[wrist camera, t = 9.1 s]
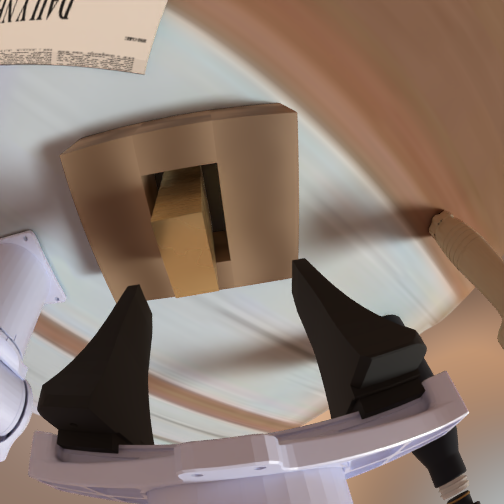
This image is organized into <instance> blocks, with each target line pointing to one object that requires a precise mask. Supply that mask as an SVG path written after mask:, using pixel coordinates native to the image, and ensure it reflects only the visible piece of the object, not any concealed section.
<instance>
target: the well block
mask: <svg viewBox="0 0 504 504" xmlns="http://www.w3.org/2000/svg"><path fill="white" fill-rule="evenodd" d="M60 159H61V163H62V166H63V169H64V173H65V176H66V179H67V182H68V185H69V189H70V192H71V195H72V198H73V200H74V203H75V206H76V209H77V212H78V215H79V217H80V220H81V223H82V225H83V228H84V231H85V233H86V236H87V238H88V241H89V243H90V246H91V248H92V251H93V253H94V255H95V258H96V260H97V262H98V265H99V267H100V269H101V272H102V274H103V276H104V278H105V280H106V283H107V285H108V287H109V289H110V291H111V293H112V295H113V297H114V300H115V302H116V304H117V302H118V301H119V299H120V297H121V296H122V294H123V293H124V291H125V290H126V288H127V287H128V286H131V285H138V284H140V287H141V289H142V291H143V294H144V296H145V299H146V301H147V300H154V299H161V298H168V297H175V294H174V291H173V288H172V286H171V283H170V280H169V277H168V274H167V271H166V268H165V265H164V262H163V260H162V257H161V254H160V250H159V247H158V244H157V241H156V238H155V235H154V232H153V228H152V225H151V218H152V214H153V210H154V207H155V203H156V199H157V195H158V188H157V184H156V180H155V175H154V173H159V172H164V171H170V170H175V169H181V168H187V167H193V166H199V165H205V164H212V163H216V164H217V171H218V179H219V186H220V193H221V201H222V208H223V215H224V222H225V229H226V230H224V231H217V232H213V240H214V250H215V259H216V268H217V277H218V286H219V290H222V289H228V288H235V287H241V286H247V285H253V284H259V283H265V282H271V281H277V280H283V279H289V278H292V260H297V259H298V244H299V163H298V121H297V112H295V111H294V110H292V109H290V108H288V107H286V106H284V105H282V104H281V103H274V104H261V105H250V106H240V107H231V108H223V109H215V110H208V111H201V112H195V113H189V114H183V115H177V116H171V117H166V118H161V119H156V120H151V121H147V122H142V123H138V124H133V125H129V126H125V127H121V128H117V129H113V130H109V131H105V132H102V133H98V134H95V135H91V136H88V137H84V138H81V139H80V140H79V141H77V142H76V143H75V144H73V145H72V146H71V147H70V148H68V149H67V150H66V151H65V152H63V153H62V154H61V155H60Z"/></svg>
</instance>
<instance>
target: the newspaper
mask: <svg viewBox="0 0 504 504" xmlns="http://www.w3.org/2000/svg"><path fill="white" fill-rule="evenodd" d="M167 1H168V0H0V65H3V64H53V65H71V66H84V67H94V68H104V69H112V70H120V71H127V72H133V73H140V74H145V70H146V66H147V61H148V58H149V54H150V51H151V48H152V44H153V41H154V38H155V35H156V32H157V29H158V26H159V23H160V20H161V17H162V14H163V11H164V9H165V6H166V3H167Z"/></svg>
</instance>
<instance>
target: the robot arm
mask: <svg viewBox="0 0 504 504" xmlns="http://www.w3.org/2000/svg"><path fill="white" fill-rule="evenodd" d="M25 236H26V237H27V238H28V239H27V238H26V237H25ZM292 295H293V298H294V302H295V305H296V309H297V312H298V314H299V317H300V319H301V321H302V324H303V326H304V328H305V331H306V333H307V335H308V338H309V340H310V343H311V345H312V347H313V350H314V353H315V356H316V359H317V363H318V366H319V370H320V373H321V377H322V381H323V384H324V388H325V392H326V397H327V401H328V405H329V410H330V414H331V419H330V420H326V421H322V422H319V423H315V424H310V425H306V426H302V427H298V428H293V429H288V430H284V431H279V432H273V433H268V434H252V435H245V436H238V437H230V438H222V439H213V440H203V441H192V442H186V443H181V444H170V445H154V440H153V434H152V427H151V419H150V409H149V395H148V370H149V360H150V350H151V341H152V313H151V310H150V308H149V306H148V303H147V301H146V299H145V296H144V294H143V291H142V289H141V287H140V284H138V285H131V286H128V287H127V288H126V290H125V291H124V293H123V294H122V296H121V297H120V299H119V301H118V302H117V304H116V305H115V307H114V309H113V310H112V312H111V313H110V315H109V316H108V318H107V319H106V321H105V322H104V324H103V325H102V326H101V328H100V329H99V331H98V332H97V334H96V335H95V336H94V337H93V339H92V340H91V341H90V342H89V343H88V345H87V346H86V347H85V348H84V349H83V350H82V351H81V352H80V353H79V354H78V356H77V357H76V358H75V359H74V360H73V361H72V362H71V363H70V364H68V365H67V366H66V367H65V368H64V369H63V370H62V371H61V372H59V373H58V374H57V375H56V376H54V377H53V378H52V379H50V380H49V381H48V382H46V383H45V384H43V385H42V389H41V393H40V398H39V402H38V406H37V410H38V412H39V414H40V415H41V416H42V417H43V418H44V419H45V420H47V421H48V422H49V423H50V424H52V425H53V426H54V427H56V428H57V429H58V435H56V434H53V433H48V432H41V431H34V435H33V441H32V448H31V455H30V463H29V472H28V475H29V477H31V478H33V479H35V480H38V481H40V482H42V483H44V484H46V485H48V486H50V487H53V488H55V489H58V490H60V491H65V492H69V493H74V494H79V495H84V496H89V497H95V498H100V499H106V500H112V501H120V502H127V503H135V504H353V501H352V498H351V495H350V491H349V488H348V485H347V481H346V479H348V478H351V477H354V476H357V475H359V474H362V473H364V472H367V471H370V470H372V469H374V468H377V467H379V466H382V465H384V464H386V463H388V462H391V461H393V460H395V459H397V458H399V457H402V456H404V455H406V454H408V453H410V452H412V451H414V450H416V449H418V448H420V447H422V446H424V445H426V444H428V443H430V442H432V441H434V440H436V439H438V438H439V437H441V436H443V435H445V434H446V433H447V432H448V431H450V430H451V429H452V428H453V427H454V426H455V425H457V424H458V423H459V422H460V421H461V420H462V419H463V418H464V417H465V416H467V415H468V413H469V412H468V410H467V408H466V406H465V404H464V402H463V400H462V398H461V396H460V394H459V393H458V391H457V389H456V387H455V385H454V383H453V382H452V380H451V378H450V376H449V375H448V373H447V371H443V372H441V373H439V374H437V375H434V376H432V377H430V378H428V379H426V380H424V381H423V382H422V383H421V381H420V379H419V377H420V376H421V375H420V372H419V370H418V367H419V365H420V363H421V362H422V360H423V358H424V356H425V354H426V350H427V348H426V345H425V344H424V342H423V341H422V339H421V337H420V336H419V334H418V333H417V331H416V330H414V329H411V328H408V327H405V326H402V325H399V324H397V323H394V322H392V321H390V320H387V319H385V318H383V317H381V316H379V315H377V314H375V313H373V312H371V311H370V310H368V309H366V308H364V307H363V306H361V305H359V304H358V303H356V302H355V301H353V300H352V299H350V298H349V297H348V296H346V295H345V294H344V293H343V292H341V291H340V290H339V289H338V288H336V287H335V286H334V285H333V284H332V283H331V282H329V281H328V280H327V279H326V278H325V277H324V276H323V275H322V274H321V273H320V272H319V271H317V270H316V269H315V268H314V267H313V266H312V265H311V264H310V263H309V262H308V261H307V260H306V259H305V258H303V259H297V260H292ZM57 297H58V298H57ZM65 300H66V295H65V293H64V291H63V290H62V288H61V286H60V284H59V282H58V280H57V279H56V277H55V275H54V273H53V271H52V269H51V267H50V265H49V263H48V261H47V259H46V257H45V255H44V253H43V251H42V249H41V246H40V244H39V242H38V240H37V238H36V235H35V234H34V232H33V231H31V230H30V231H25V232H21V233H18V234H14V235H11V236H7V237H4V238H0V462H1V461H4V460H5V459H6V456H7V454H8V451H9V449H10V447H11V445H12V444H13V443H14V441H15V440H16V439H17V437H18V436H20V435H21V434H22V432H23V431H24V430H25V429H26V427H27V425H28V423H29V421H30V418H31V414H32V409H33V393H32V389H31V386H30V384H29V383H28V382H27V380H25V377H26V374H27V370H28V368H27V366H26V365H25V364H24V363H23V362H22V361H23V358H24V355H25V352H26V349H27V346H28V343H29V341H30V338H31V335H32V333H33V330H34V327H35V325H36V322H37V320H38V317H39V315H40V312H41V310H42V308H43V305H44V304H51V303H59V302H65Z"/></svg>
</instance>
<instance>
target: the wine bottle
mask: <svg viewBox="0 0 504 504" xmlns="http://www.w3.org/2000/svg"><path fill="white" fill-rule="evenodd" d="M383 318H385V319H387V320H390V321H392V322H394V323H397V324H399V325H402V326H405V325H404V324H403V322H402V321H401V319H400V317H398V316H396V315H388V316H385V317H383ZM418 370H419V372H420V375H421V376H420V377H419V379H420V381H421V383H422V382H423V381H424V380H426V379H428V378H430V377H432V376H434V375H433V373H432V371H431V369H430V368H429V366H428V364H427V362H426V361H425V359H424V358H423V360H422V362H421V363H420V365H419V367H418ZM412 453H413V454H414V455H415V456H416V457H417V458H418V460H419V461H421V463H422V464H423V465H424V466H426V468H427V469H428V471H429V473H430V475H431V478H432V481H433V483H434V486H435V488H438V487H439V489H440V490H439V492H441V494H442V495H441V497H443V499H444V500H445V499H447V498H449V497H451V496H453V495H455V494H457V493H459V492H460V491H462V490H463V489H465V488H466V487H468V486H469V484H468V482H469V480H467V479H466V477H467V476H466V475H465V474H464V472H466V467H465V465H464V463H463V460H462V458H461V456H460V453H459V451H458V437H457V428H456V425H455V426H454V427H453V428H452V429H451V430H450V431H448V432H447V433H446V434H445V435H443V436H441V437H439V438H438V439H436V440H434V441H432V442H430V443H428V444H426V445H424V446H422V447H420V448H418V449H416V450H414V451H412ZM447 504H480V502H479V501H477V502H475V503H473V501H472V498H471V496H470V491H468V490H467V491H465V492H463V493H461V494H459V495H457V496H455V497H454V498H452V499H450V500H449V501H448V502H447Z"/></svg>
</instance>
